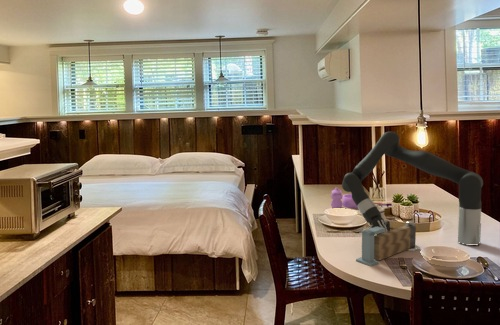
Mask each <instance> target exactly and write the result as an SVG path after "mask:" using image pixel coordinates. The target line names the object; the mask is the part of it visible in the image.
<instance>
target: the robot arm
mask: <svg viewBox="0 0 500 325" xmlns="http://www.w3.org/2000/svg"><path fill="white" fill-rule="evenodd" d="M399 144H400V136H399V135H398V133H396V132H394V131H386V132H384V133H383V134H382V135H381V136H380V138H379V139H378V141H377V142H376V143H375V145H374V146H373V147H372V148H371V150H370V151H369V152H368V153H367V154H366V156H365V157H364V158H362V160H361V161H359V163H358V164H356V165H355V167H354V168H353V170H352V172H348V173H346V174H345V175H344V176H343V179H342V183H341V187H342V189H343V190H344V192H347V193H350V194H352V199H353V201H354V202H355V204H356V205H357V207H358V208H357V209H358V210H359V212H360V214H361V215H362V217H363V218H364V220H365V222H366V223H367V224H368V223H370V225H371V227H370V226H369V228H368V229H370V228H374V227H377V226H378V227H381V228H385V232H387V231H390V230H391V223H390V221H387V220H386V222H385V221H384V219H382V218H381V213H380V211H379V210H378V208H377V207H376V206H375V203H374V201H373V200H372V199H371V198H370V196H369V195H368V194H367V192H366V191H365V188H364V186H363V184H362V182H363V181H364V179H365V178H366V177H368V176H369V174H370V173H371V172H372V171H373V170H374V169H375V168H376V166H377V165H378V164H379V162H380V160H381V158H382V157H383V156H384V155H386V156H388V157H390V158H394V159H396V160H400V161H402V162H404V163H406V164H409V165H411V166H413V167H415V168H416V169H419V170H421V171H422V172H425V173H427V174H429V175H433V176H435V177H439V178H443V179H446V180H448V181H451V182H453V183H456V184H457V185H458V202H459V206H458V224H457V225H458V227H457V229H458V230H457V243H458V242H460V243H464V244H479V242H480V243H481V238H482V237H481V231H482V230H481V229H482V223H481V220H482V217H481V216H482V187H483V186H484V180H483V178H482V176H481V175H479V173H476V172H474V171H470V170H467V169H464V168H462V167H459V166H457V165H455V164H453V163H451V162H450V161H447V160H446V159H443V158H442V157H439V156H437V155H435V154H433V153H431V152H430V151H425V150H411V149H407V148H405V147H403V146H401V145H399ZM383 233H384V232H383ZM379 234H381V233H379ZM376 235H378V234H376ZM460 243H459V244H460ZM479 245H480V244H479Z"/></svg>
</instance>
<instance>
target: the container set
mask: <svg viewBox="0 0 500 325" xmlns="http://www.w3.org/2000/svg"><path fill="white" fill-rule="evenodd" d="M330 198H331V202H330V206H331V208H332V209H334V208H340V209H341V208H342V207H344V208H349V209H358V207H357V205H356V204H355V202H354V201H353V199H352V193H347V194H343V192H342V190H341V189H339V187H334V189H333V190H331V195H330Z"/></svg>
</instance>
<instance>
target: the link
mask: <svg viewBox="0 0 500 325" xmlns="http://www.w3.org/2000/svg"><path fill="white" fill-rule="evenodd" d="M416 228H417V226H416V224H414V223H413V224H412V225H408V223H405V224H404V225H402V226H400V227H397V228H396V227H395V228H394V229H393V228H392V229H390V231H387V232H384V233H381V234H378V235H374V260H375V261H378V262H379V261H381V260H384V259H386V258H389V257H391V256H394V255H397V254H399V253H401V252H404V251H408V250H407V249H409V248H415V245H416V233H417V229H416Z"/></svg>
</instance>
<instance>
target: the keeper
mask: <svg viewBox="0 0 500 325" xmlns="http://www.w3.org/2000/svg"><path fill="white" fill-rule="evenodd" d="M369 228H370V227H369ZM369 228H366V229H364V230H362V231H361V236H362V237H361V257H358V258H356V259H355V262H357V263H360V264H363V265H366V266H369V267H373V266H375V265H378V264H379V263H380V262H379V261H378V260H375V259H374V236H375V235H376V234H379V233H383V232H385V228H381V227H378V226H377V227H374V228H370V229H369Z"/></svg>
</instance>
